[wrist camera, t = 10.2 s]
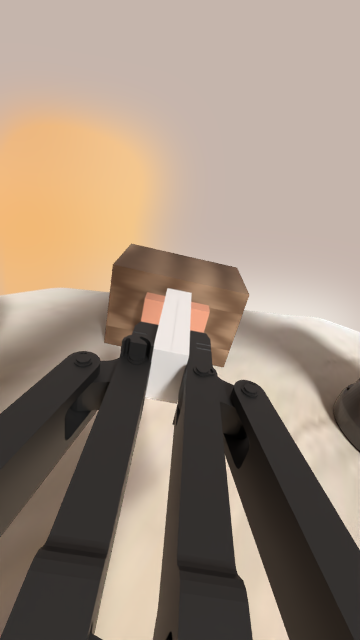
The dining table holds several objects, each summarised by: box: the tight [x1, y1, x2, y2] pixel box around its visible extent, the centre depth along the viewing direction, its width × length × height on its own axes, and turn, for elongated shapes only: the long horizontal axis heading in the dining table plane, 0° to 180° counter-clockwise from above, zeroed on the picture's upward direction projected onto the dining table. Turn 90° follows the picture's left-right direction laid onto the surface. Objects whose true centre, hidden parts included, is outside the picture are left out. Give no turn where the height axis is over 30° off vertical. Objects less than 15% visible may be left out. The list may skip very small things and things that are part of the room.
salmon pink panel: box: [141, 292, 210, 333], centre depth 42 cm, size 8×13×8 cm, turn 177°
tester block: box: [104, 244, 249, 367], centre depth 45 cm, size 18×12×12 cm, turn 87°
